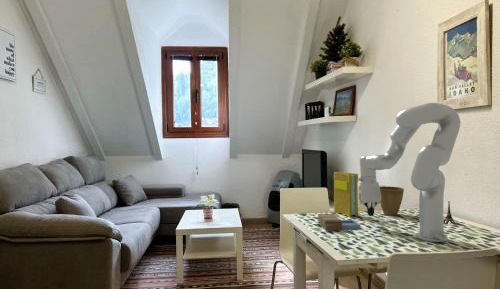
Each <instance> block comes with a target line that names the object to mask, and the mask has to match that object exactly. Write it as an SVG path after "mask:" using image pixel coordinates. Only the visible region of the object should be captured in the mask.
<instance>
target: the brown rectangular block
mask: <svg viewBox="0 0 500 289" xmlns="http://www.w3.org/2000/svg"><path fill="white" fill-rule="evenodd" d="M317 215H318V216H317V220H318V224H319V226H321V227H322V228H323V229H324V231H326V232H327V231H328V232H331V231H335V232H336V231H338V232H339V231H343V229H342V221H341V220H342V219H340V218H339V217H337V216H336V215H335V214H333V213H332V214H331V213H329V214H328V213H323V214H321V213H319V214H317Z"/></svg>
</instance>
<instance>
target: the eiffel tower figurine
mask: <svg viewBox="0 0 500 289" xmlns="http://www.w3.org/2000/svg"><path fill="white" fill-rule="evenodd" d="M447 203H448V205H447V206H448V207H447V213H446V216H445V218H444V223H445V221H446V224H448V222H449V221H450V222H451V223H454V224H455V225H454V226H457V225H456V224H457V223H455V222H456V221H455V220H454V218H453V216H452V213H451V206H450V205H451V204H450V203H451V202H450V200H448V202H447ZM446 224H445V225H446Z"/></svg>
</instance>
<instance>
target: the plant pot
mask: <svg viewBox="0 0 500 289" xmlns="http://www.w3.org/2000/svg"><path fill="white" fill-rule="evenodd" d="M379 187H380V192H381V203H380V207H381V210H382V212H383V215H384V216H385V215H386V216H390V217H391V216H393V217H394V216H397V215H398V214H399V211H400V208H401V206H402V205H401V204H402V202H403V196H404V192H405V188H404V187H398V186H387V185H385V186H379Z"/></svg>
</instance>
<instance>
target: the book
mask: <svg viewBox="0 0 500 289" xmlns="http://www.w3.org/2000/svg"><path fill="white" fill-rule="evenodd" d="M358 178H359V173H351V172H345V171H334V172H333V200H334V201H333V205H334V206H333V212H334V213H335V214H338V213H342V214H345V215H347V216H352V217H353V215H355V216H354V217H359V207H358V204H359V201H358V199H359V188H358V183H359V180H358ZM345 215H344V216H345ZM347 216H346V217H347Z"/></svg>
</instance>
